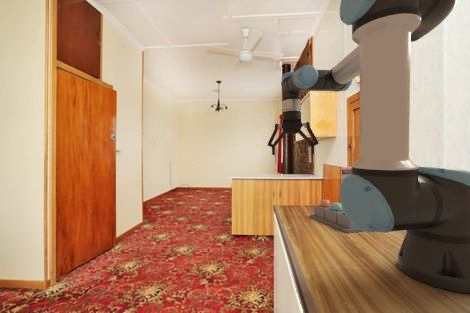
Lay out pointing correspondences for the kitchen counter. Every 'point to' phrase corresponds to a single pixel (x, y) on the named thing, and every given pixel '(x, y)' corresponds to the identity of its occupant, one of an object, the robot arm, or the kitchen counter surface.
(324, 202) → the salmon button
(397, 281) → the kitchen counter surface
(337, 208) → the teal button
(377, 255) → the kitchen counter surface
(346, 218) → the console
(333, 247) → the kitchen counter surface
